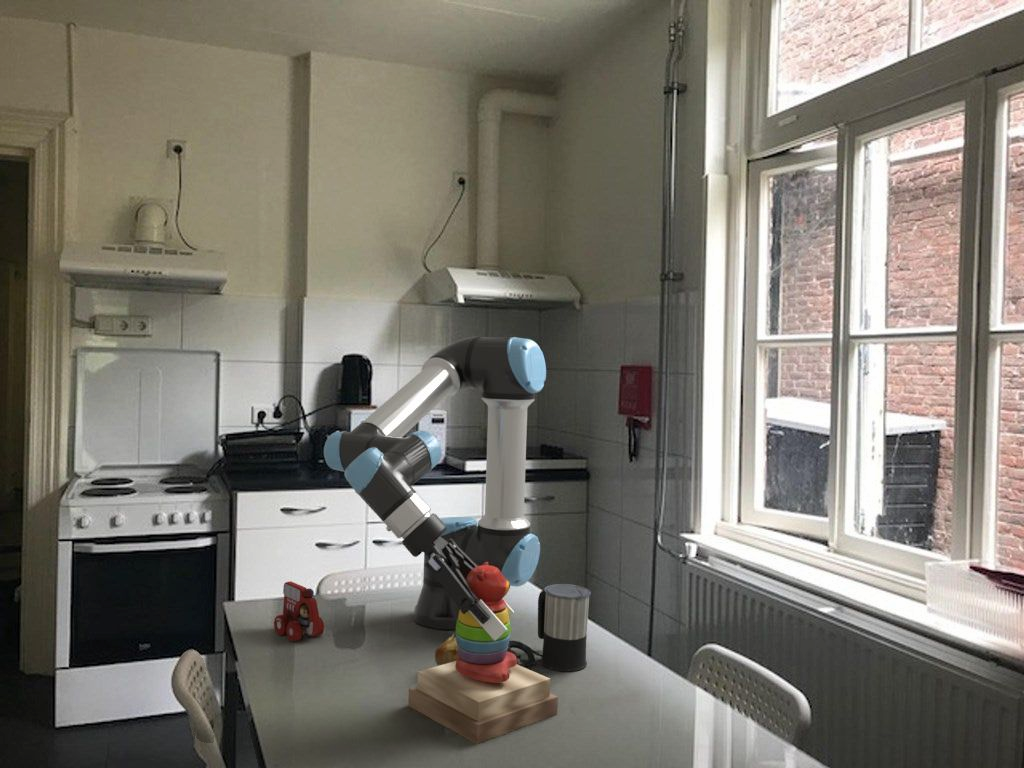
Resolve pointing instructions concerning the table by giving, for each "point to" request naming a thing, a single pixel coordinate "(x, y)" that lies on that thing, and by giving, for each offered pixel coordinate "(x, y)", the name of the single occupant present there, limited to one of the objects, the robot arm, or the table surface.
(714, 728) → the table surface
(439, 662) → the onion
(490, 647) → the stacking bear
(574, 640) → the milk frother
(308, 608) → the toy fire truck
